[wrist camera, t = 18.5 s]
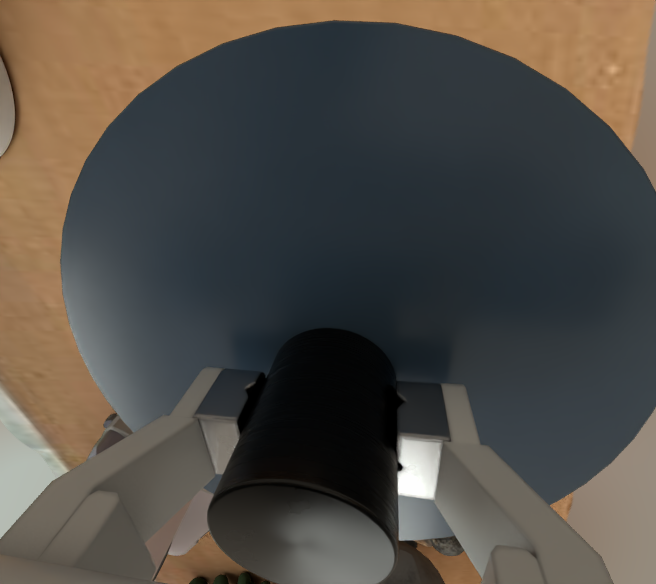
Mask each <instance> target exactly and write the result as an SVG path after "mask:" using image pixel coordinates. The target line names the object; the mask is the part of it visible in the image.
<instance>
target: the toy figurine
mask: <svg viewBox="0 0 656 584" xmlns="http://www.w3.org/2000/svg"><path fill="white" fill-rule="evenodd" d="M250 578H251V577H250V575H249V574H248V573H247V572H245V573H241V575H240V576H239V578H238V584H256V583H254V582H253V581H250ZM189 584H208V583H207V582H206V580H205V579H203V578H198V577H197V578H194V579H193V580H192V581H191V582H190V583H189ZM213 584H229V582H228V578H227V577H226V575H219V576H217V577H216V578H215V580H214V582H213ZM261 584H271V583H270V582H269V581H267V580H265V581H263V582H261Z"/></svg>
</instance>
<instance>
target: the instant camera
mask: <svg viewBox="0 0 656 584" xmlns="http://www.w3.org/2000/svg"><path fill="white" fill-rule="evenodd" d="M103 425H104V428H106V429H105V431H104V433H103V435H102V436H101V438H100V439H99V441H98V442H97V443H96V444H95V446H94V447H93V449H92V451H91V453H90V455H89V457H88V459H87V460H89V459H91V458H92V457H94V456H96V455H97V454H99V453H101V452H102V451H104V450H106V449H107V448H109V447H111V446H112V445H114V444H116V443H117V442H119V441H121V440H123V439H124V438H126V437H128V436H129V435H131V434H133V433H134V432H133V431H132V430H131V429H130V428H129V427H128V426H127V425H126V424H125V423H124V422H123V420H122V419H121V418H120V417H119V415H116V414H111V415H110V416H109V417H108V418H107V419H106V421H105V423H104V424H103ZM87 460H86V461H87ZM86 461H85V462H86ZM213 495H214V494H213V493H211V492H209V491H207V490H206V489H204V488H202V489H201V490H200V491H199V492H198V493H197V494H196V495H195V496H194V497H193V498H192V499H191V500H190V501H189V502H188V503H187V504H186V505H184V506H183V507H182V508H181V509H180V510H179V511H178V512H177V513H176V514H175V515H174V516H173V517H172V518H171V519H170V520H169V521H168V522H167V523H166V524H164V525H163V526H162V527H161V528H160V529H159V530H158V531H157V532H156V533H155V534H154V535H153V536H152V537H151V538H150V539H149V540H148V541H147V542H146V543H145V545H146V546H147V548H148V550H149V552H150V554H151V556H152V558H153V559H154V561H155V565H156V571H155V573H154V575H153V577H152V579H151V581H154V580H155V578H156V576H157V574H158V573H159V571H160V569H161V567H162V565H163V563H164V561H165V558H166V556H167V554H170V555H175V556H179V555H183V554H185V553H187V552H188V551H189V550H190V549H191V548H192V547H193V546H194V545H195V544H197V543H198V541H199V539H200V538H202V537H203V536H204V535H205V534H206V533H207V532H208V531H209V529H208V524H207V511H208V507H209V504H210V502H211V499H212V497H213Z"/></svg>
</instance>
